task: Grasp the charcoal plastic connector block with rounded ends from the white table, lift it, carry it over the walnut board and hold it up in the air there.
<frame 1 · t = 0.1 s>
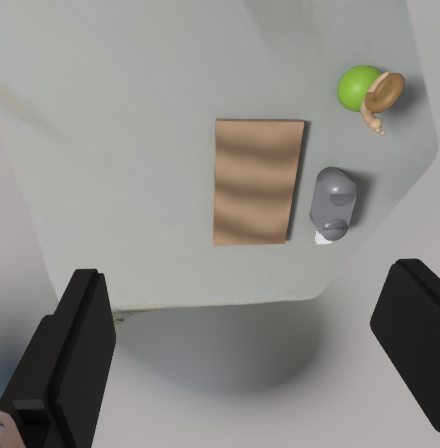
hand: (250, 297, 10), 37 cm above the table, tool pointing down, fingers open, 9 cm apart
connector block: (325, 196, 51), on the table
snail figurine: (347, 89, 43), on the table
walnut board: (253, 185, 49), on the table
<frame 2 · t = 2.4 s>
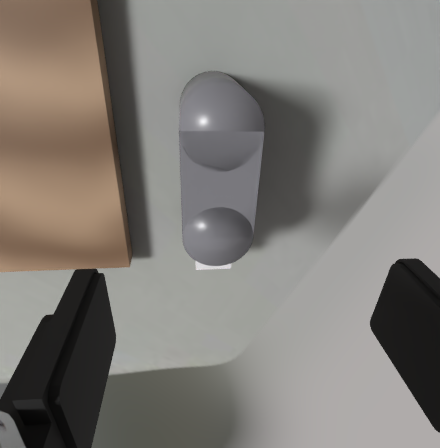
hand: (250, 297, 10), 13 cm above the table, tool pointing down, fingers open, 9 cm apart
connector block: (211, 154, 21), on the table
walnut board: (9, 122, 18), on the table
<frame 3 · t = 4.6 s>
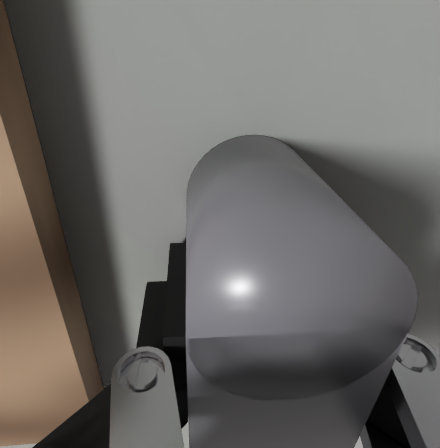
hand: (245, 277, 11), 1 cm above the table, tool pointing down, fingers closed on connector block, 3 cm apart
connector block: (242, 270, 12), on the table, touching gripper
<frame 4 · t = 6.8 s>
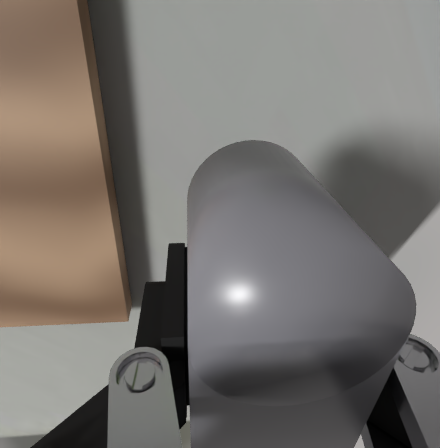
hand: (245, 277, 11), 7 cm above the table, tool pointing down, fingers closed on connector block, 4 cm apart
connector block: (242, 273, 12), point 7 cm above the table, touching gripper
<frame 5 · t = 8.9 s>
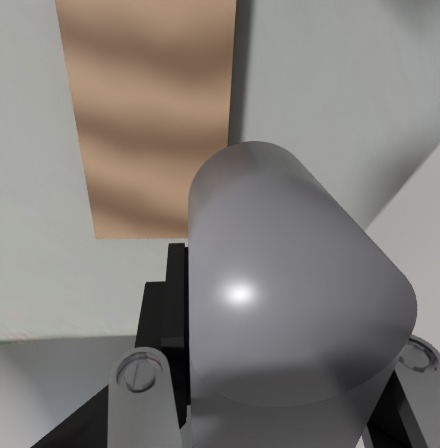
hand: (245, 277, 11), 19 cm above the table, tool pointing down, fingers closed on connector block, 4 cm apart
connector block: (243, 274, 12), point 18 cm above the table, touching gripper
walnut board: (156, 129, 27), on the table
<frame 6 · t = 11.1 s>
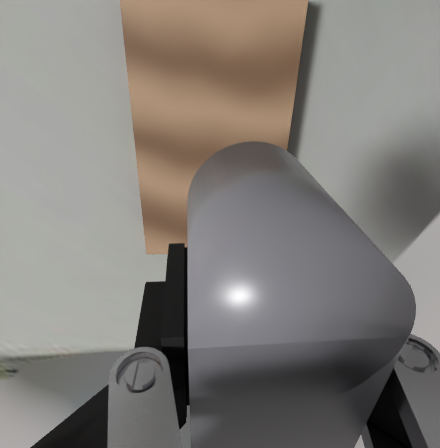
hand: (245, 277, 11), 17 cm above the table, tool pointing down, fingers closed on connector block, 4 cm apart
connector block: (242, 274, 12), point 17 cm above the table, touching gripper
walnut board: (211, 143, 26), on the table
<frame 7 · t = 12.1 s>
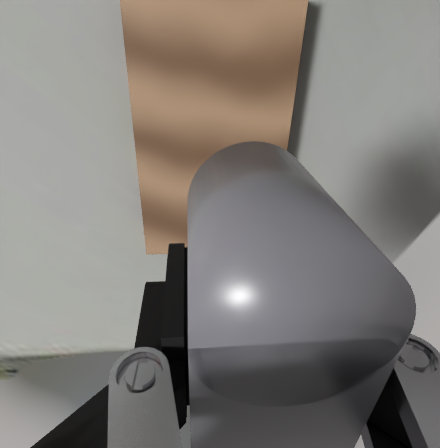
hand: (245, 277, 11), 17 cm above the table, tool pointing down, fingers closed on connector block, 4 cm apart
connector block: (242, 274, 12), point 17 cm above the table, touching gripper
walnut board: (211, 143, 26), on the table
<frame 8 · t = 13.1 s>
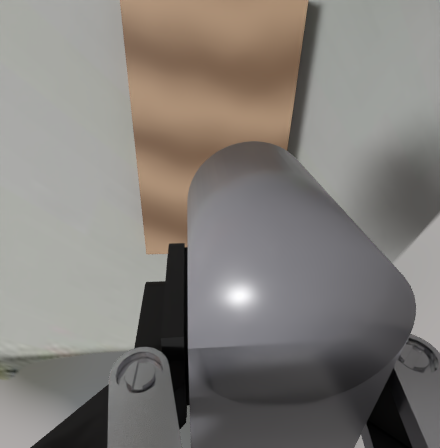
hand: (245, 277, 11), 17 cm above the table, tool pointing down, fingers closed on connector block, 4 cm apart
connector block: (242, 274, 12), point 17 cm above the table, touching gripper
walnut board: (211, 143, 26), on the table
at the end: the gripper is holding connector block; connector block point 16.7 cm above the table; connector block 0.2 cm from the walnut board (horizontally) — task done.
